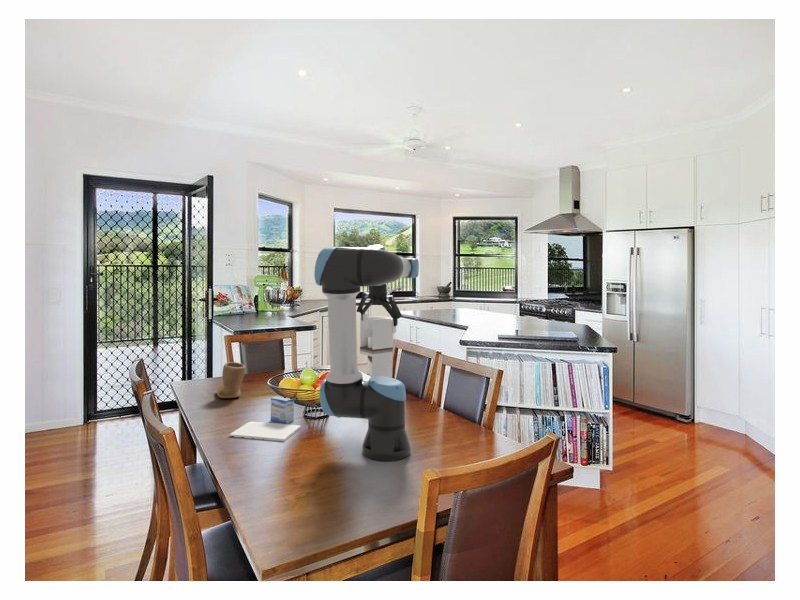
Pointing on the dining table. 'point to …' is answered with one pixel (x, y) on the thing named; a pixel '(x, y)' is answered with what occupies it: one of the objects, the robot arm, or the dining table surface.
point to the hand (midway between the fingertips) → (379, 330)
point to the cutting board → (266, 431)
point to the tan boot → (231, 380)
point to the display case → (377, 346)
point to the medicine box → (282, 409)
